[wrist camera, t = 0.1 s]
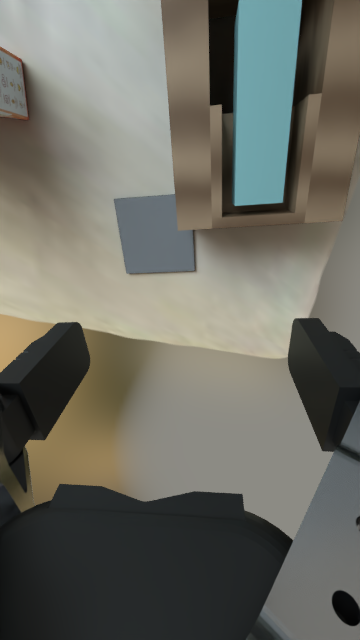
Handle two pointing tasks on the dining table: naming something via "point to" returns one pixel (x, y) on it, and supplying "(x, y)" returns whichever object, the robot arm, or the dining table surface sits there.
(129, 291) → the dining table surface
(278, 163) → the teal block
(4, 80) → the cracker box
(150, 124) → the dining table surface
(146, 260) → the grey mat
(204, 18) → the board
